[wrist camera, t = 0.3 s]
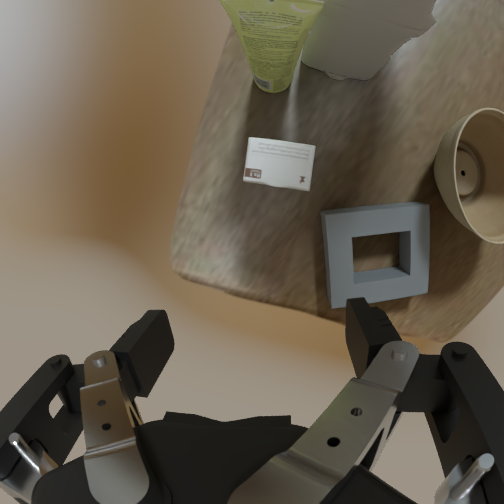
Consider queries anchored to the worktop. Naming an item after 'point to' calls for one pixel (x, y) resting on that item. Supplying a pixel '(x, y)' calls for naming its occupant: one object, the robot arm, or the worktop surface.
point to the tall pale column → (363, 35)
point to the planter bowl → (474, 173)
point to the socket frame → (371, 223)
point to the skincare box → (279, 163)
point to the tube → (272, 36)
